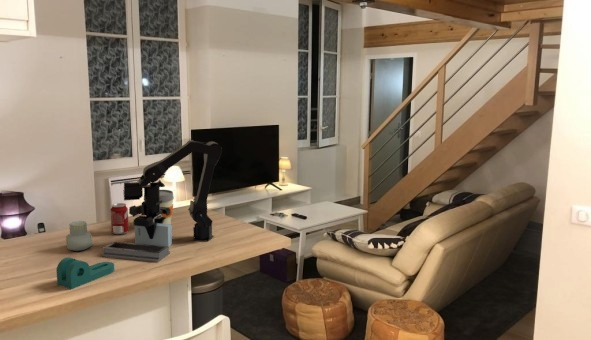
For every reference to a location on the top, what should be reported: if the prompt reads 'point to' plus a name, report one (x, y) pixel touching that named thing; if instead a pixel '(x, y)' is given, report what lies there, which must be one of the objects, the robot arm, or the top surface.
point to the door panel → (160, 236)
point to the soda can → (119, 219)
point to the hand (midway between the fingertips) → (153, 237)
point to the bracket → (80, 272)
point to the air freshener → (78, 236)
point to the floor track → (135, 251)
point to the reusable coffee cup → (167, 203)
